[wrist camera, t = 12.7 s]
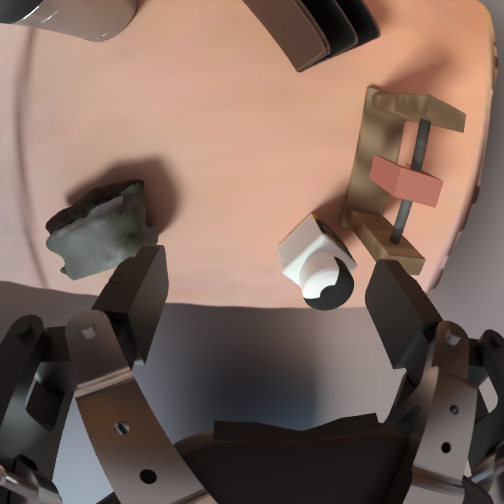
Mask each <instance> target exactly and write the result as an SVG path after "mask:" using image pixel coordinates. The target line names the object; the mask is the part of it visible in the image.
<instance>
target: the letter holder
mask: <svg viewBox="0 0 504 504" xmlns="http://www.w3.org/2000/svg"><path fill="white" fill-rule="evenodd" d="M243 2H244V3H245V4H246V5H247V6H248V7H249V9H250V10H251V11H252V12H253V13H254V14H255V16H256V17H257V18H258V19H259V20H260V22H261V23H262V24H263V25H264V27H265V28H266V29H267V30H268V32H269V33H270V34H271V35H272V37H273V38H274V39H275V41H276V42H277V43H278V45H279V46H280V47H281V49H282V50H283V52H284V53H285V54H286V56H287V57H288V59H289V60H290V61H291V63H292V65H293V66H294V68H295V69H296V71H297V72H303V71H304V70H307V69H308V68H310V67H313V66H315V65H317V64H319V63H322V62H324V61H326V60H328V59H331V58H333V57H335V56H338V55H340V54H342V53H345V52H347V51H349V50H352V49H354V48H356V47H359V46H361V45H364V44H366V43H367V42H370V41H372V40H374V39H377V38H378V37H380V30H379V27H378V25H377V23H376V21H375V19H374V17H373V15H372V14H371V12H370V11H369V9H368V7H367V6H366V4H365V3H364V1H363V0H243Z"/></svg>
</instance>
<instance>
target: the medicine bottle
mask: <svg viewBox="0 0 504 504" xmlns="http://www.w3.org/2000/svg"><path fill="white" fill-rule="evenodd" d="M278 250H279V256H280V261H281V267H282V272H283V274H285V275H286V276H287V277H289V278H290V279H291V280H293V281H294V282H295V283H297V284H298V285H299V286H301V289H302V293H303V297H304V300H305V302H306V303H307V304H308V305H309V306H310V307H312V308H314V309H318V310H332V309H335V308H337V307H339V306H341V305H343V304H344V303H345V302H346V301H347V300H348V299H349V297H350V296H351V294H352V292H353V289H354V280H353V277H352V276H351V274H350V273H351V272H352V271H353V270H354V269H355V268H356V267H357V264H356V262H355V261H354V259H353V257H352V256H351V254H350V252H349V251H348V249H347V247H346V246H345V244H344V243H343V241H342V240H341V239H340V238H339V237H338V236H337V235H336V234H335V233H334V232H333V231H332V230H331V229H329V228H328V227H327V226H326V225H325V224H324V223H323V222H322V221H321V220H320V219H319V218H318V217H317V216H316V215H314V214H313V213H311V214H309V215H308V216H307V217H306V218H305V219H304V220H303V221H302V222H301V223H300V224H299V225H298V226H297V227H296V228H295V229H294V230H293V231H292V232H291V233H290V234H289V235H288V236H287V237H286V238H285V239H284V240H283V241H282V242H281V243H280V244H279V245H278Z"/></svg>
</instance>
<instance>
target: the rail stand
mask: <svg viewBox="0 0 504 504" xmlns="http://www.w3.org/2000/svg"><path fill="white" fill-rule="evenodd" d="M465 119H466V114H465V113H463V112H461V111H459V110H458V109H456V108H454V107H452V106H450V105H448V104H447V103H445V102H443V101H441V100H439V99H437V98H435V97H433V96H431V95H391V94H388V93H385V92H382V91H379V90H376V89H373V88H370V87H368V88H367V89H366V96H365V103H364V109H363V116H362V121H361V127H360V133H359V138H358V144H357V149H356V154H355V159H354V164H353V168H352V173H351V178H350V182H349V186H348V191H347V195H346V199H345V203H344V208H343V212H342V216H341V219H340V223H339V225H340V226H341V227H344V228H351V229H352V230H353V231H354V232H355V234H356V235H357V236H358V238H359V239H360V240H361V242H362V243H363V244H364V246H365V247H366V249H367V250H368V251H369V253H370V254H371V256H372V257H373V259H374V260H375V261H376V263H377V261H378V260H379V259H391V260H397V261H399V263H400V264H401V265H402V267H403V268H404V269H405V271H406V272H407V273H408V274H409V275H419V274H420V272H421V270H422V267H423V265H424V263H425V260H426V259H425V258H424V257H423V256H422V255H421V254H420V253H419V252H418V251H417V250H416V249H415V248H414V247H413V246H412V245H411V243H410V242H409V241H408V240H407V239H406V238H405V237H404V236H403V235H402V233H403V230H404V227H405V224H406V221H407V218H408V215H409V212H410V208H411V205H412V202H413V201H409V200H405V199H402V202H401V205H400V208H399V212H398V215H397V218H396V221H395V225H394V226H393V225H392V224H391V223H390V222H389V221H388V220H386V219H385V218H384V217H383V216H382V215H383V212H384V208H385V205H386V201H387V197H388V194H389V193H388V192H387V191H386V190H384V189H383V188H382V187H381V186H379V185H378V184H376V183H375V182H374V181H372V180H371V179H370V178H369V177H370V172H371V168H372V163H373V159H374V155H378V156H382V157H384V158H386V159H388V160H390V161H392V162H394V163H396V161H397V157H398V152H399V147H400V142H401V137H402V132H403V127H404V121H405V120H406V121H412V122H417V123H420V124H419V129H418V135H417V140H416V145H415V150H414V154H413V159H412V163H411V167H410V169H411V170H415V171H418V172H421V168H422V164H423V160H424V155H425V151H426V146H427V141H428V136H429V131H430V125H432V126H437V127H442V128H446V129H450V130H454V131H458V132H462V133H463V132H464V126H465Z"/></svg>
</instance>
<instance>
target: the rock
mask: <svg viewBox="0 0 504 504" xmlns="http://www.w3.org/2000/svg"><path fill="white" fill-rule="evenodd" d="M145 216H146V203H145V198H144V181H143V180H129V181H126V182H123V183H119V184H112V185H108V186H105V187H100V188H96V189H93V190H91V191H90V192H88V193H87V194H85V195H84V196H83V197H82V198H81V199H80V200H79V201H78V202H76V203H75V204H74V205H73V206H71V207H68V208H66V209H63V210H61V211H60V212H58V213H57V214H56V215H55V216H53V217H52V218H51V219H50V220H49V221H48V222H47V223H46V229H47V231H49V233H50V236H49V238H48V239H47V241H46V246H47V248H48V249H49V250H50V251H52V252H55V253H57V254H59V255H60V256H61V257H62V258H63V259H64V261H65V266H64V267H63V268H61V270H60V271H61V272H62V273H64V274H66V275H67V276H68V277H70V278H71V279H72V280H78V279H80V278H83V277H87V276H90V275H93V274H96V273H99V272H102V271H106V270H109V269H112V268H114V267H117V266H118V265H119V264H120V263H121V262H123V261H124V260H125V259H127V258H128V257H135V256H136V254H137V253H138V251H139V249H140V248H141V246H142V245H143V244H151V245H156V244H157V242H158V232H157V229H156V227H155V226H154V225H151V226H149V225H146V224H145Z"/></svg>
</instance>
